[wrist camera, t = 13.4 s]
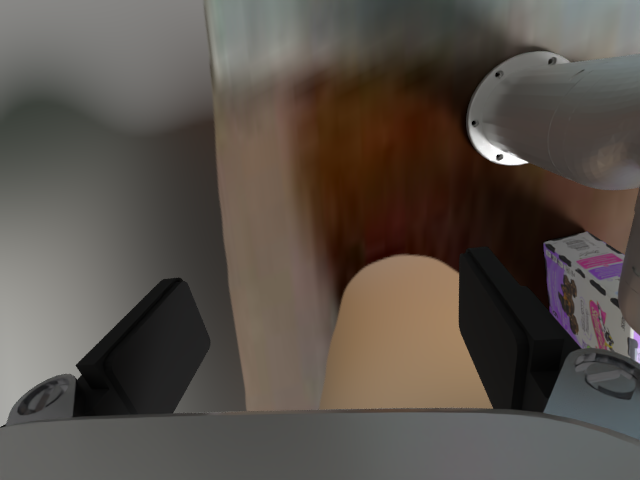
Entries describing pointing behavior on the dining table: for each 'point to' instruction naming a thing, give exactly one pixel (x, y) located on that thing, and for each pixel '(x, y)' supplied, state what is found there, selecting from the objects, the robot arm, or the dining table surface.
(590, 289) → the candy box
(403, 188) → the dining table surface
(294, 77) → the dining table surface
